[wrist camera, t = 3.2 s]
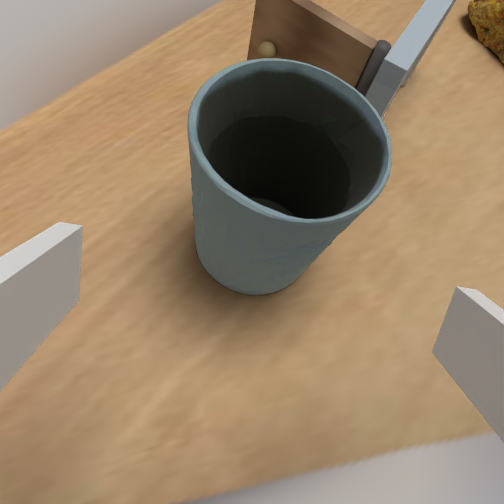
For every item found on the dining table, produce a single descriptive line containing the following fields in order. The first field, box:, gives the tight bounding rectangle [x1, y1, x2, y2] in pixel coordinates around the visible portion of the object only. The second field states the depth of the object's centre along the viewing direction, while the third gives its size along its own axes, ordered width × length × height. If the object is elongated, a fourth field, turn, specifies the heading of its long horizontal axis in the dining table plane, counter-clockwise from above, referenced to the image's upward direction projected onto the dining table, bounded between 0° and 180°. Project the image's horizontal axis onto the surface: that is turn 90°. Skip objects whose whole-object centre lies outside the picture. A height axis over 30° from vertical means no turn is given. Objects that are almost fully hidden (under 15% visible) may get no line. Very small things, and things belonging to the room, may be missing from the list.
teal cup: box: [188, 58, 392, 295], centre depth 25 cm, size 10×10×12 cm
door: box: [247, 0, 391, 97], centre depth 32 cm, size 10×2×9 cm, turn 54°
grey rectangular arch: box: [365, 0, 456, 118], centre depth 32 cm, size 18×2×12 cm, turn 149°
